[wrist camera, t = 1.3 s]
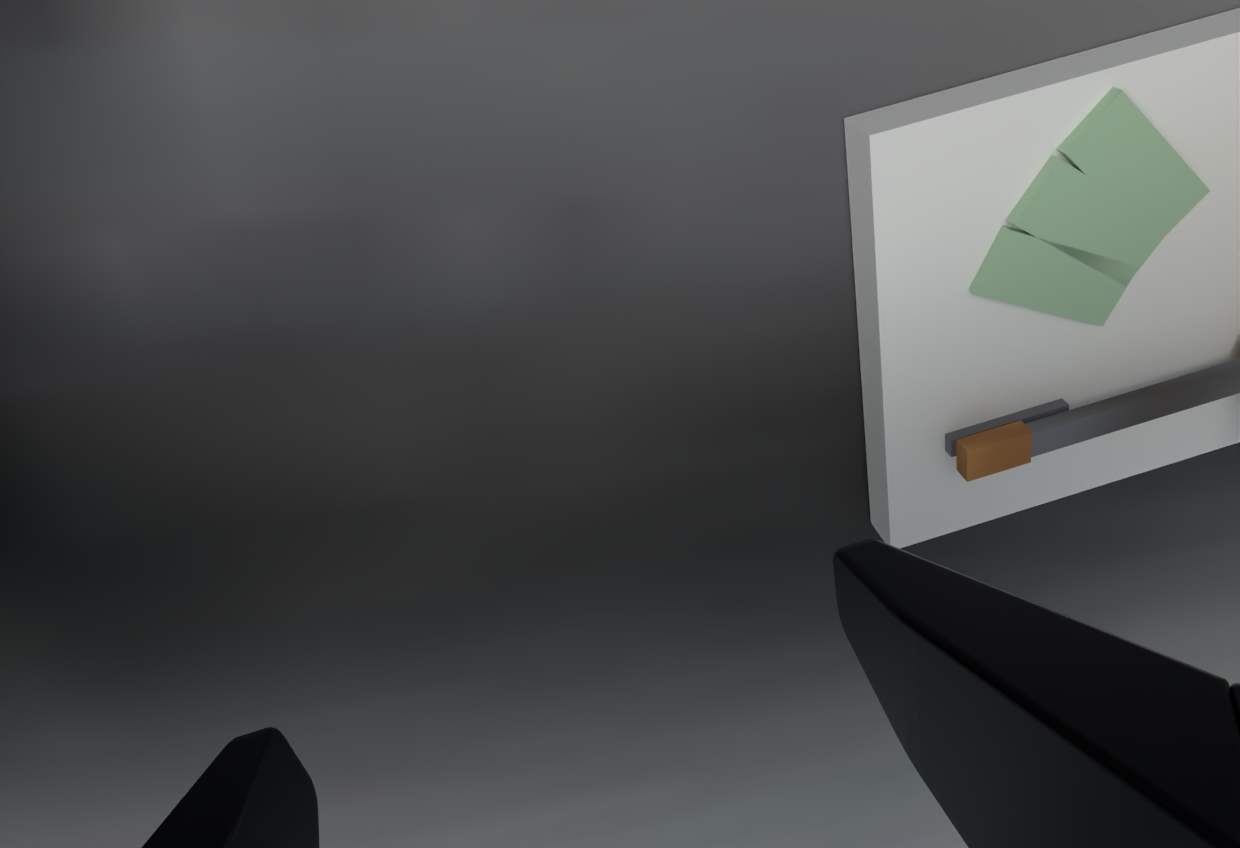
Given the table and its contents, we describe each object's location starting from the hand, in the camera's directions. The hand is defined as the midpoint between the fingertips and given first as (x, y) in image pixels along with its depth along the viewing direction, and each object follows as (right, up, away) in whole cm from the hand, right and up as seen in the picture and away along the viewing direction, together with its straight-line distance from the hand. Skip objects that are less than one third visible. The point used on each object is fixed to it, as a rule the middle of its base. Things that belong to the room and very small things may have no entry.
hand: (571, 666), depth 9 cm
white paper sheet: (+12, +6, +14) cm, 20 cm away
